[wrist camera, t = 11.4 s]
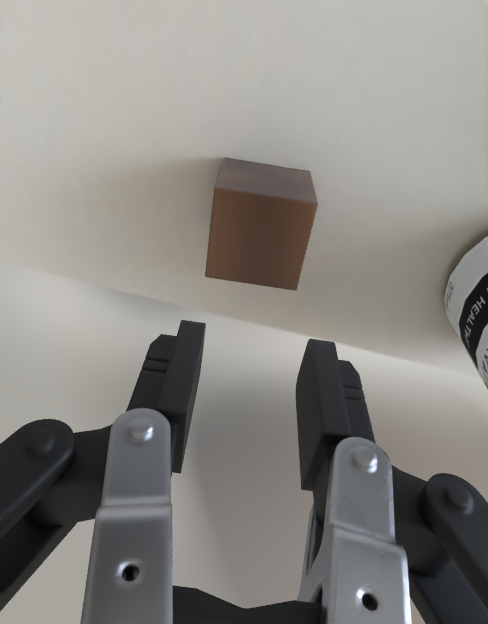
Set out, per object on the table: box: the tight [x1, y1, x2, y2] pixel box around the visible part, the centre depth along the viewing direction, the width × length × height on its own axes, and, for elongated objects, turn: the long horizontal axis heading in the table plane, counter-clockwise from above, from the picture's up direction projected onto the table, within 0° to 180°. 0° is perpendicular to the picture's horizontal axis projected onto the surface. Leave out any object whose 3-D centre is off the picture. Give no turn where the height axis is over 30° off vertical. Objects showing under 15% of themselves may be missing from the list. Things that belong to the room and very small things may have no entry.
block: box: [205, 158, 318, 290], centre depth 22 cm, size 4×4×4 cm
